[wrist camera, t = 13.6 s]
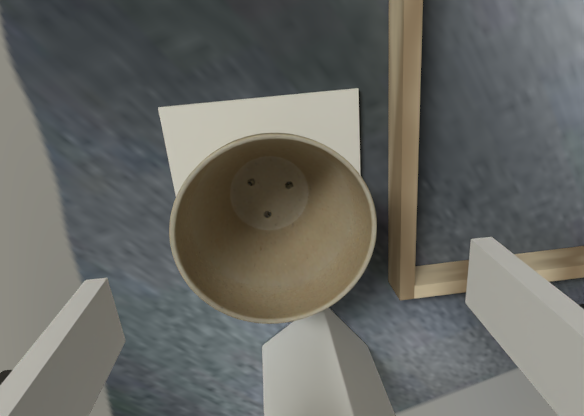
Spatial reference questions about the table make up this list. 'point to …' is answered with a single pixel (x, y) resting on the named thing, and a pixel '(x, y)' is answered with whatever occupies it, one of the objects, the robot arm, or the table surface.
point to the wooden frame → (404, 177)
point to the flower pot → (273, 228)
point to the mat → (260, 125)
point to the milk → (321, 371)
